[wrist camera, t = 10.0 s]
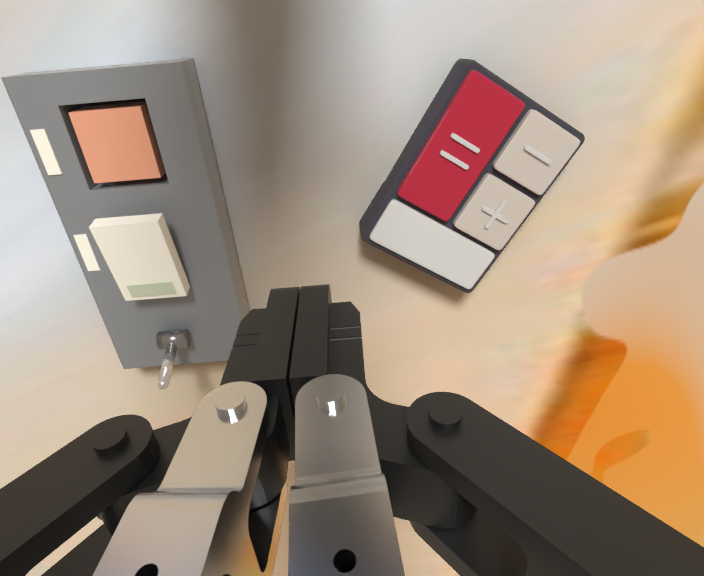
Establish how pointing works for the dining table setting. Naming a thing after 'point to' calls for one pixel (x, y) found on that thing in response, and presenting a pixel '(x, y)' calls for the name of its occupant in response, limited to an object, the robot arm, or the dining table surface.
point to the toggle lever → (170, 351)
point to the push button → (118, 142)
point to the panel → (142, 203)
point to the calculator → (468, 177)
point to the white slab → (141, 256)
